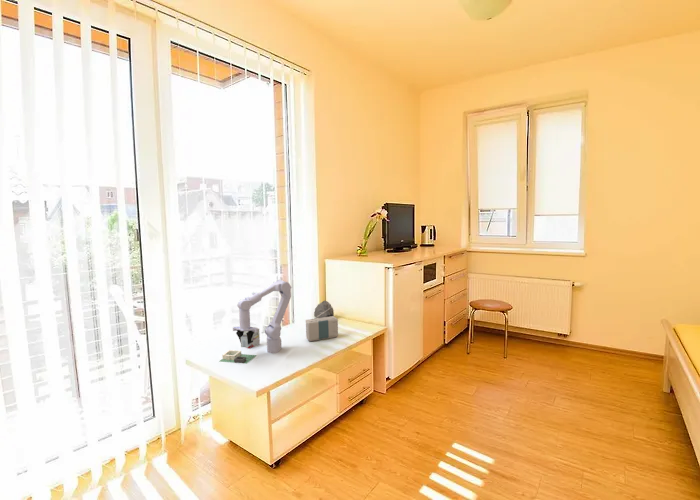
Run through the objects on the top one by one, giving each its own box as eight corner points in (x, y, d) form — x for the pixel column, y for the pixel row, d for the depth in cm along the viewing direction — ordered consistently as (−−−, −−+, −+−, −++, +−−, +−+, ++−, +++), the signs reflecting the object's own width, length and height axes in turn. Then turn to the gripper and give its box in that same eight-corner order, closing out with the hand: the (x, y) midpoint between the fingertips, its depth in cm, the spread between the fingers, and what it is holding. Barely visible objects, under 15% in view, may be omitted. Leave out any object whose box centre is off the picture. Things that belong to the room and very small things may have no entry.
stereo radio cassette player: (308, 342, 234) (308, 312, 232) (305, 338, 241) (304, 309, 239) (338, 337, 242) (338, 308, 240) (334, 334, 250) (333, 305, 248)
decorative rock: (334, 319, 285) (334, 300, 284) (330, 321, 279) (330, 302, 278) (317, 316, 293) (317, 298, 291) (312, 318, 287) (312, 300, 285)
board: (230, 354, 215) (230, 353, 215) (256, 356, 212) (256, 355, 212) (218, 363, 204) (218, 361, 204) (246, 365, 200) (246, 363, 200)
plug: (244, 344, 210) (243, 334, 209) (250, 345, 209) (250, 335, 209) (240, 347, 206) (240, 337, 205) (247, 347, 205) (246, 337, 204)
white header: (229, 354, 214) (229, 350, 214) (241, 354, 212) (241, 350, 212) (222, 359, 206) (221, 355, 206) (234, 360, 204) (233, 356, 204)
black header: (234, 362, 202) (234, 359, 202) (237, 359, 205) (237, 356, 205) (243, 363, 201) (242, 359, 200) (246, 360, 204) (246, 357, 204)
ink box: (248, 350, 223) (247, 331, 222) (244, 348, 226) (243, 330, 225) (260, 346, 229) (259, 328, 228) (256, 344, 232) (255, 326, 231)
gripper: (229, 321, 204) (230, 345, 205) (253, 323, 201) (254, 346, 202) (235, 318, 211) (236, 340, 212) (258, 319, 208) (259, 342, 209)
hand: (245, 343), depth 208 cm, fingers closed on plug, 4 cm apart
